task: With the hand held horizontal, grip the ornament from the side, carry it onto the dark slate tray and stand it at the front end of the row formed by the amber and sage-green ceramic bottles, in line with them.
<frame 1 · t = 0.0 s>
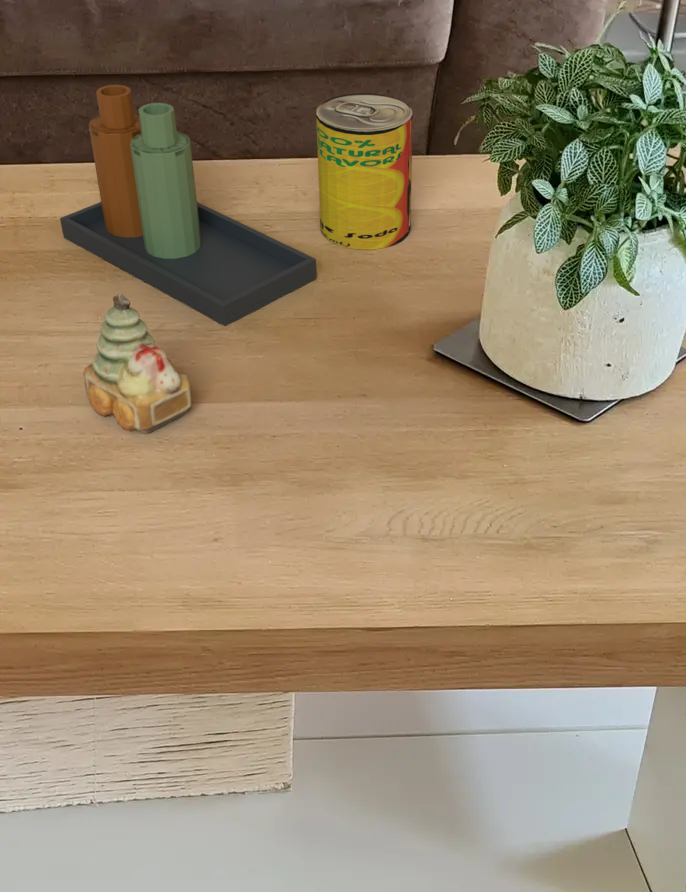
beverage can: (365, 229, 116), on the table
green bottle: (173, 250, 111), resting on tray
tray: (187, 257, 110), on the table
ornament: (142, 411, 91), on the table
amber bottle: (134, 230, 114), resting on tray
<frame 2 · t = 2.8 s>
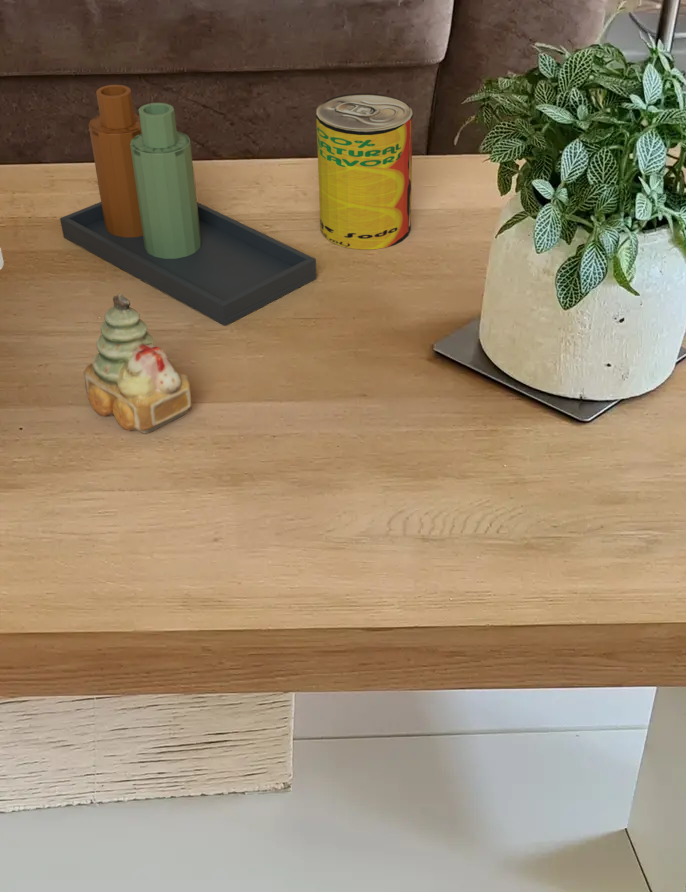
nothing on the table moved.
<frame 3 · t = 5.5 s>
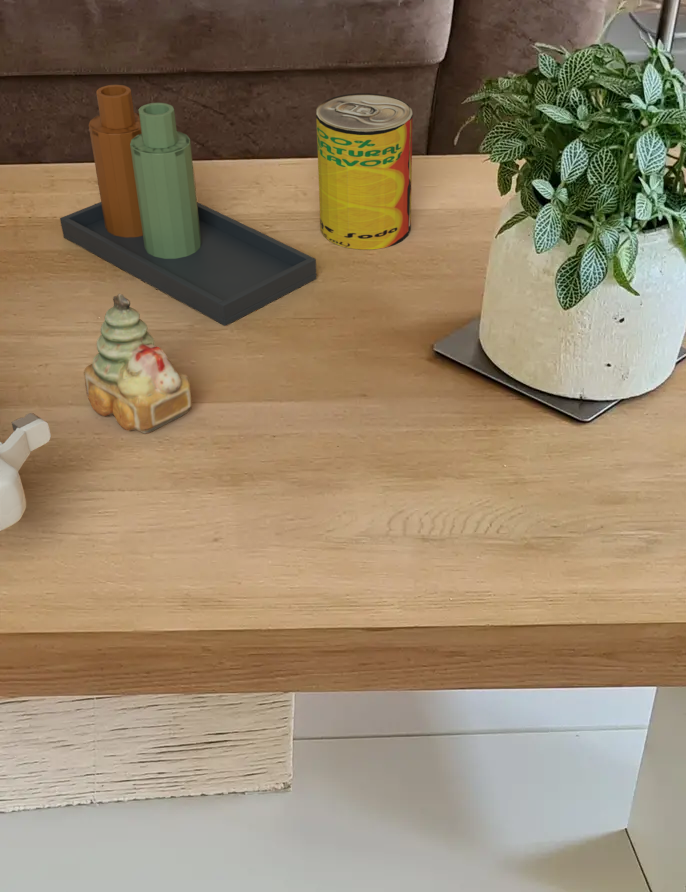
hand: (2, 397, 80), 7 cm above the table, tool horizontal, fingers open, 8 cm apart
nothing on the table moved.
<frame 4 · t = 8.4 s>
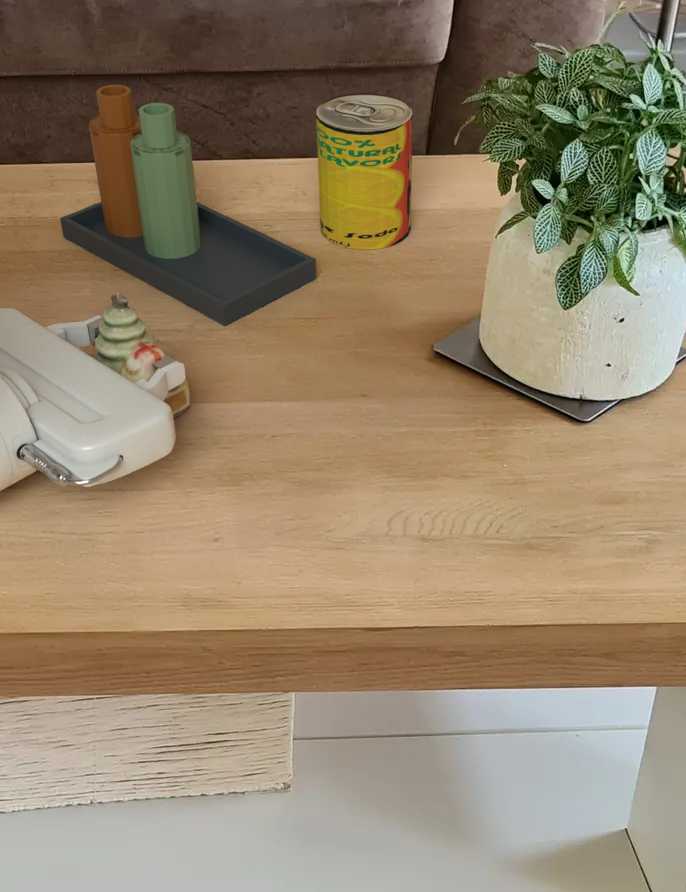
hand: (142, 346, 88), 6 cm above the table, tool horizontal, fingers closed on ornament, 7 cm apart
ornament: (141, 410, 91), on the table, touching gripper
everything else where it was.
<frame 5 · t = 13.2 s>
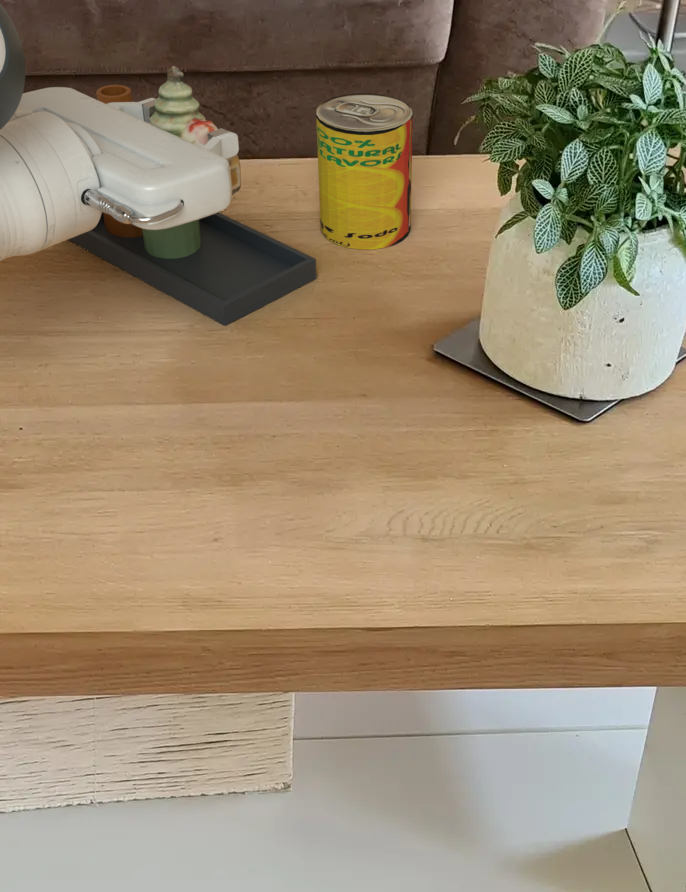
hand: (196, 124, 91), 18 cm above the table, tool horizontal, fingers closed on ornament, 7 cm apart
ornament: (192, 194, 94), point 12 cm above the table, touching gripper
everything else where it was.
when the fingers open (6 cm above the table, at t = 18.0 s): ornament stays where it is, resting on tray.
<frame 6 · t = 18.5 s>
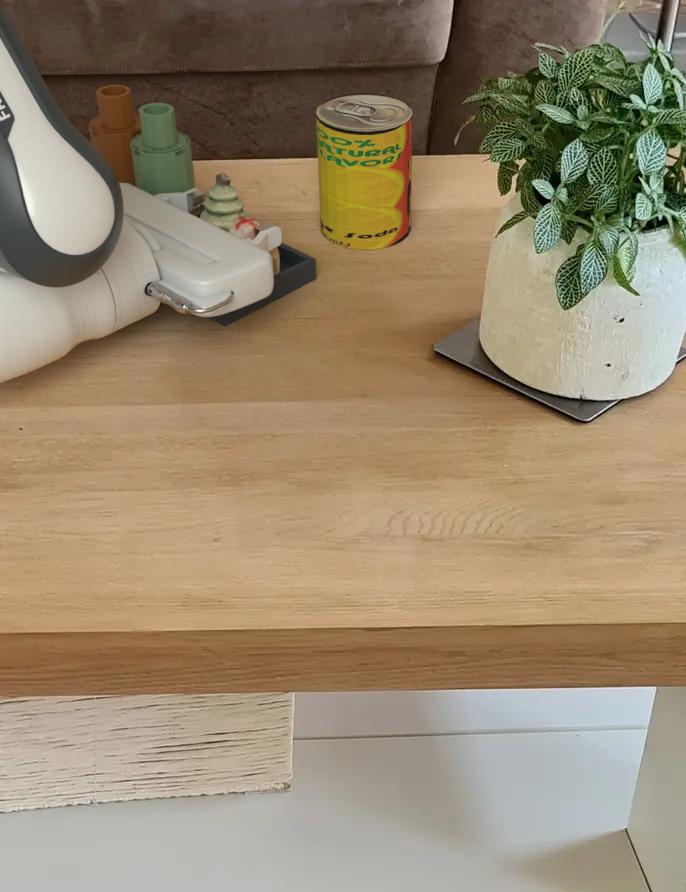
hand: (239, 214, 103), 7 cm above the table, tool horizontal, fingers open, 8 cm apart
ornament: (236, 279, 107), resting on tray
everything else where it was.
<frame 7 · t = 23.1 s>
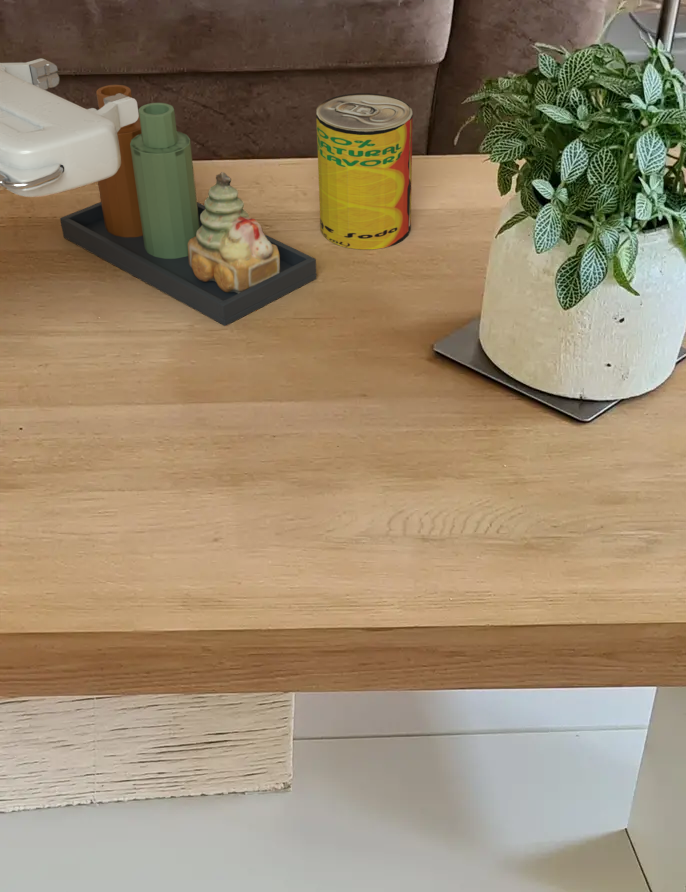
hand: (91, 88, 86), 22 cm above the table, tool horizontal, fingers open, 8 cm apart
nothing on the table moved.
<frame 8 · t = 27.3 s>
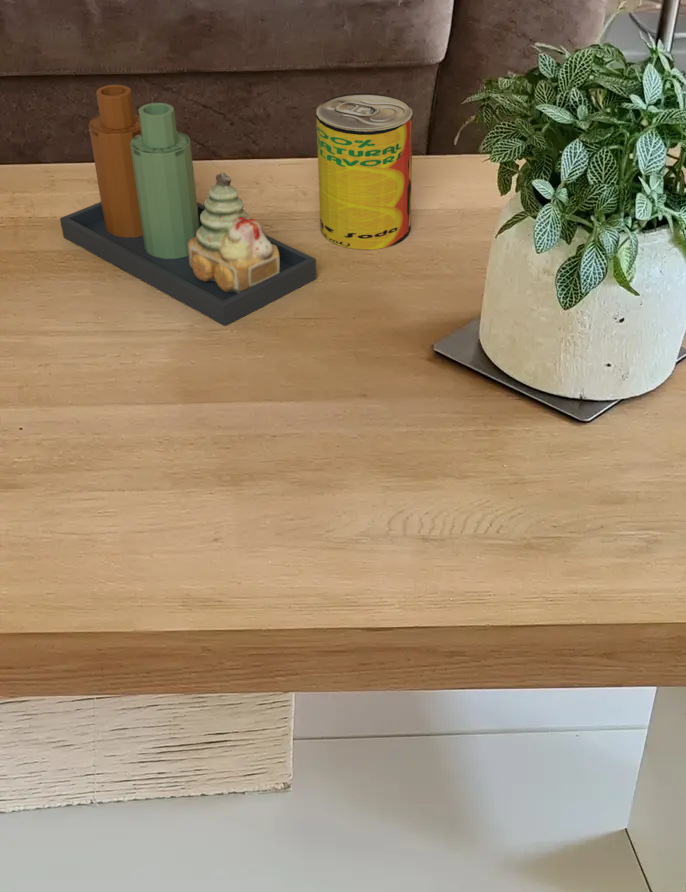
nothing on the table moved.
at the end: ornament 0.3 cm from the target spot in the tray, point 0.4 cm above the tray's base; ornament tilted 0°; the gripper is holding nothing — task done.
